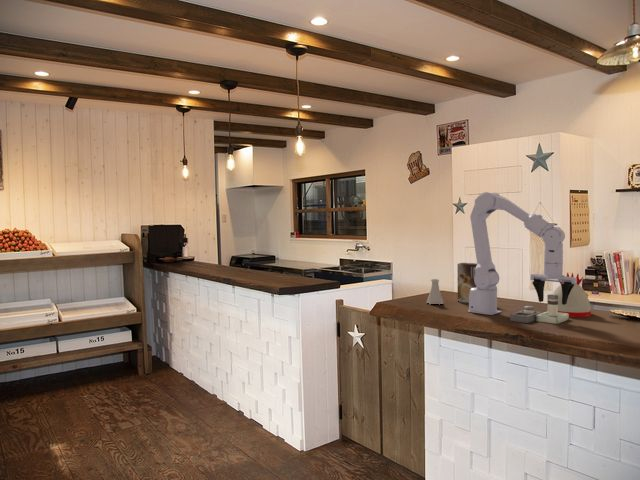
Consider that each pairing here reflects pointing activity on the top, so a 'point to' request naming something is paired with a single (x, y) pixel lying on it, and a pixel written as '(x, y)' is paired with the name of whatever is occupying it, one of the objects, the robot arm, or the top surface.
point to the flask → (435, 293)
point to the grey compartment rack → (525, 315)
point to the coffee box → (465, 280)
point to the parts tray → (552, 318)
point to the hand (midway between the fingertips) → (552, 302)
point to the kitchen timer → (574, 300)
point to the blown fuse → (552, 305)
